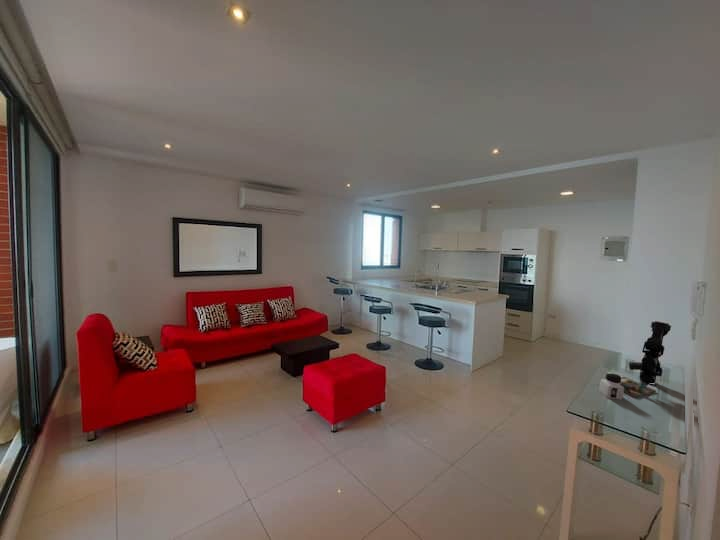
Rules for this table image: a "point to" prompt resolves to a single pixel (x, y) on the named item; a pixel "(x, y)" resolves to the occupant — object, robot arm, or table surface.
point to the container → (612, 386)
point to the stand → (634, 392)
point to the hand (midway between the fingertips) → (644, 386)
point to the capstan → (633, 385)
